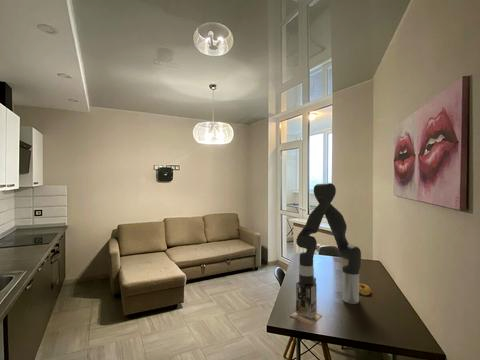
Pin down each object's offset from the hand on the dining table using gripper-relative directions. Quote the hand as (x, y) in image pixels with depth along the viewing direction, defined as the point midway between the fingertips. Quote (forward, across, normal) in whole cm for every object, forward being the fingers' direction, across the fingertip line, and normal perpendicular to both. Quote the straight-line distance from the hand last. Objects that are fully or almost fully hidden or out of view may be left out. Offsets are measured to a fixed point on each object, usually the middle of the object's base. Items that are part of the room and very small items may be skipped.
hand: (306, 304), depth 136 cm
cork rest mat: (+6, 0, 0) cm, 6 cm away
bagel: (+7, -52, +11) cm, 54 cm away
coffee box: (+5, 0, 0) cm, 5 cm away
